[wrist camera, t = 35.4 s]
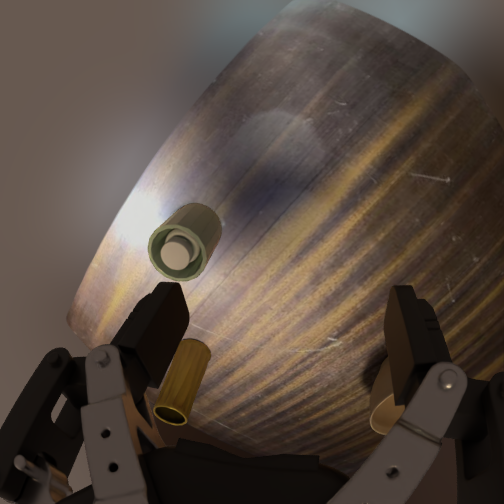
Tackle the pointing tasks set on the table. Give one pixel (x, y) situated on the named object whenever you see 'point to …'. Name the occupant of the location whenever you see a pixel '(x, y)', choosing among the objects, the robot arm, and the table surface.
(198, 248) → the pill bottle
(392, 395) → the planter bowl
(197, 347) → the vase
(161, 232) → the cup
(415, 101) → the table surface
